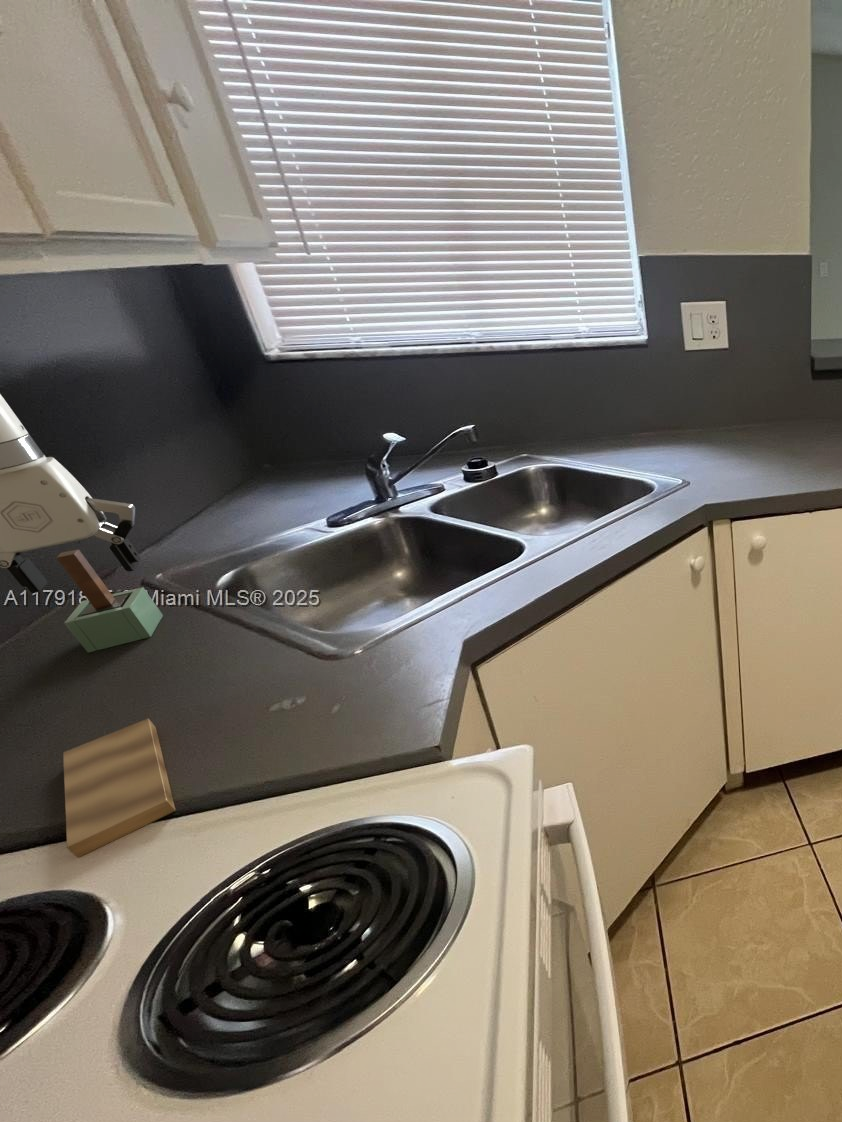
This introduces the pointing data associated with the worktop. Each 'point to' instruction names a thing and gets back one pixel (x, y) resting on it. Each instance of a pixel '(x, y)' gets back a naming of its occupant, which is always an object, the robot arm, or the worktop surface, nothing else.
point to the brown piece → (89, 583)
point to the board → (114, 787)
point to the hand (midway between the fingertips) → (88, 577)
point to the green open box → (115, 622)
